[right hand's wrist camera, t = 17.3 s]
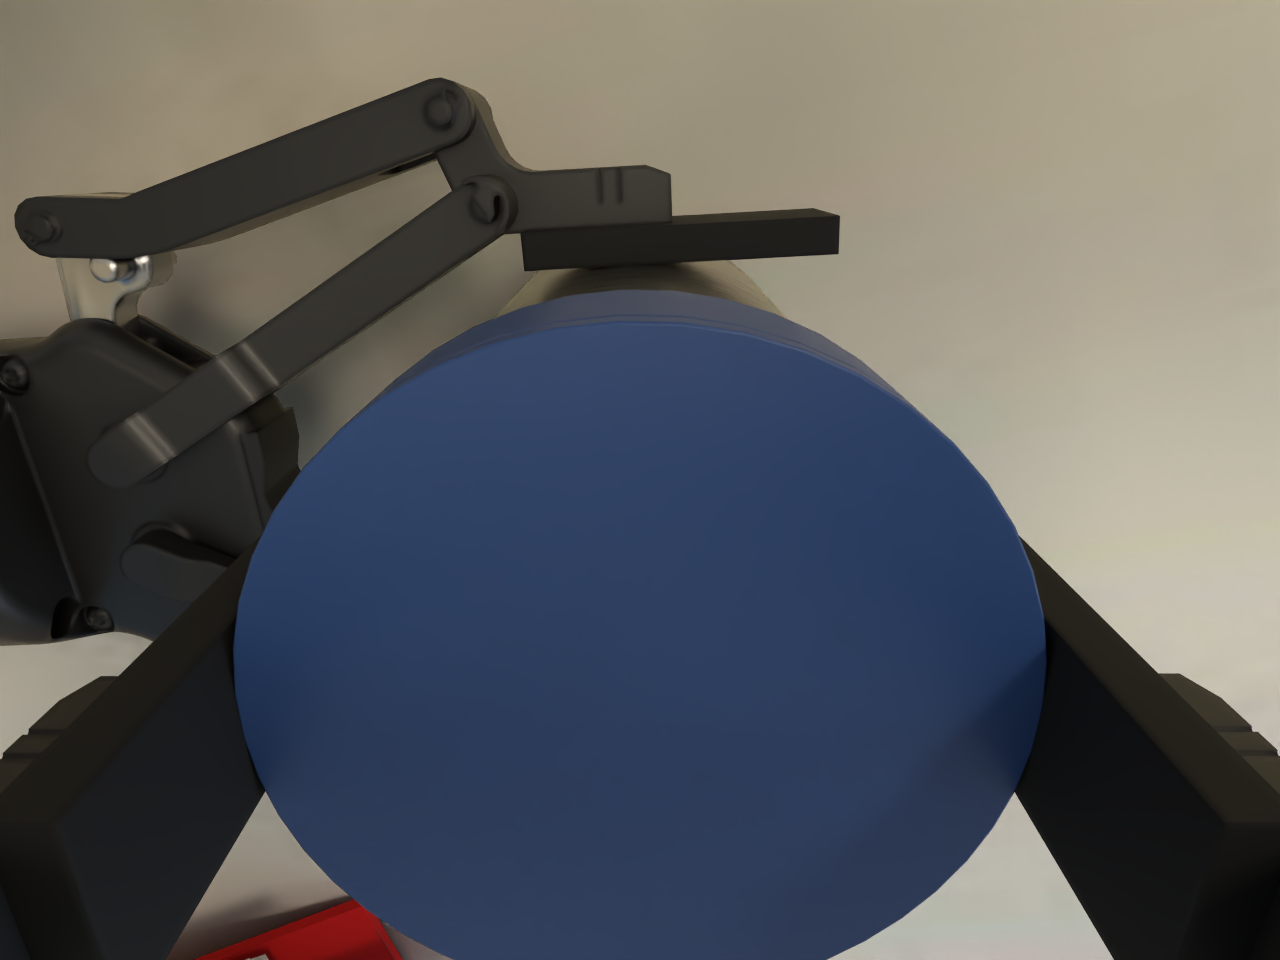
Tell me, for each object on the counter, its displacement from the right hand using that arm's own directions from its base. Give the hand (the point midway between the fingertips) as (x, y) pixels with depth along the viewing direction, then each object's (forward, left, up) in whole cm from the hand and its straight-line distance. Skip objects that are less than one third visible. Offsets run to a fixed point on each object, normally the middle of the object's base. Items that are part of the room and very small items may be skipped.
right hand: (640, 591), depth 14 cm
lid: (0, 0, +3) cm, 3 cm away
